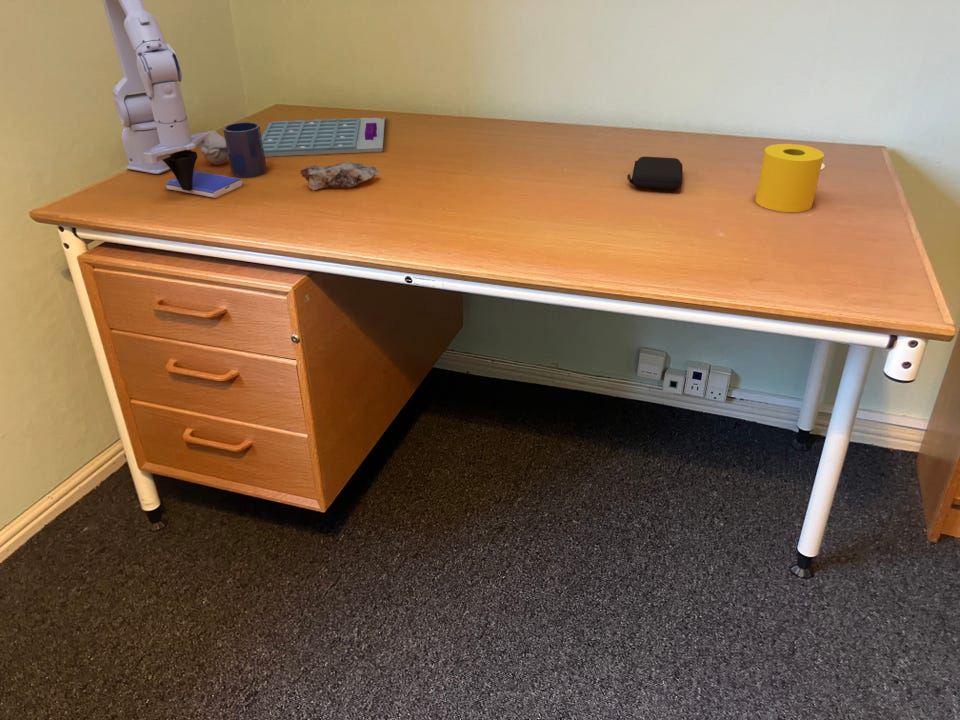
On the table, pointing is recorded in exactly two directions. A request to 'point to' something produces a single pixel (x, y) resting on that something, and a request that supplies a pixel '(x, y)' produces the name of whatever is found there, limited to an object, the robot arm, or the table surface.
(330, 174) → the mineral rock
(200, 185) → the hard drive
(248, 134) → the pen cup
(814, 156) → the yellow toilet paper roll
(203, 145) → the grey rounded lump
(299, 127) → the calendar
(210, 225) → the table surface
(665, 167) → the carrying case
